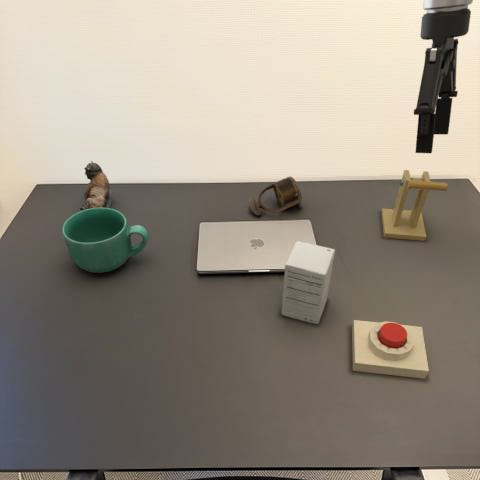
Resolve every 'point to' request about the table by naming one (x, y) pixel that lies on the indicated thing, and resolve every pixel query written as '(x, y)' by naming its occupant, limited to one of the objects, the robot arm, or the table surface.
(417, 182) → the lever
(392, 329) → the button
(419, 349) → the button base
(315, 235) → the table surface
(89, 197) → the brown figurine
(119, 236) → the mug
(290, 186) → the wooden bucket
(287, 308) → the white packaging box
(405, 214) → the wooden lever device
